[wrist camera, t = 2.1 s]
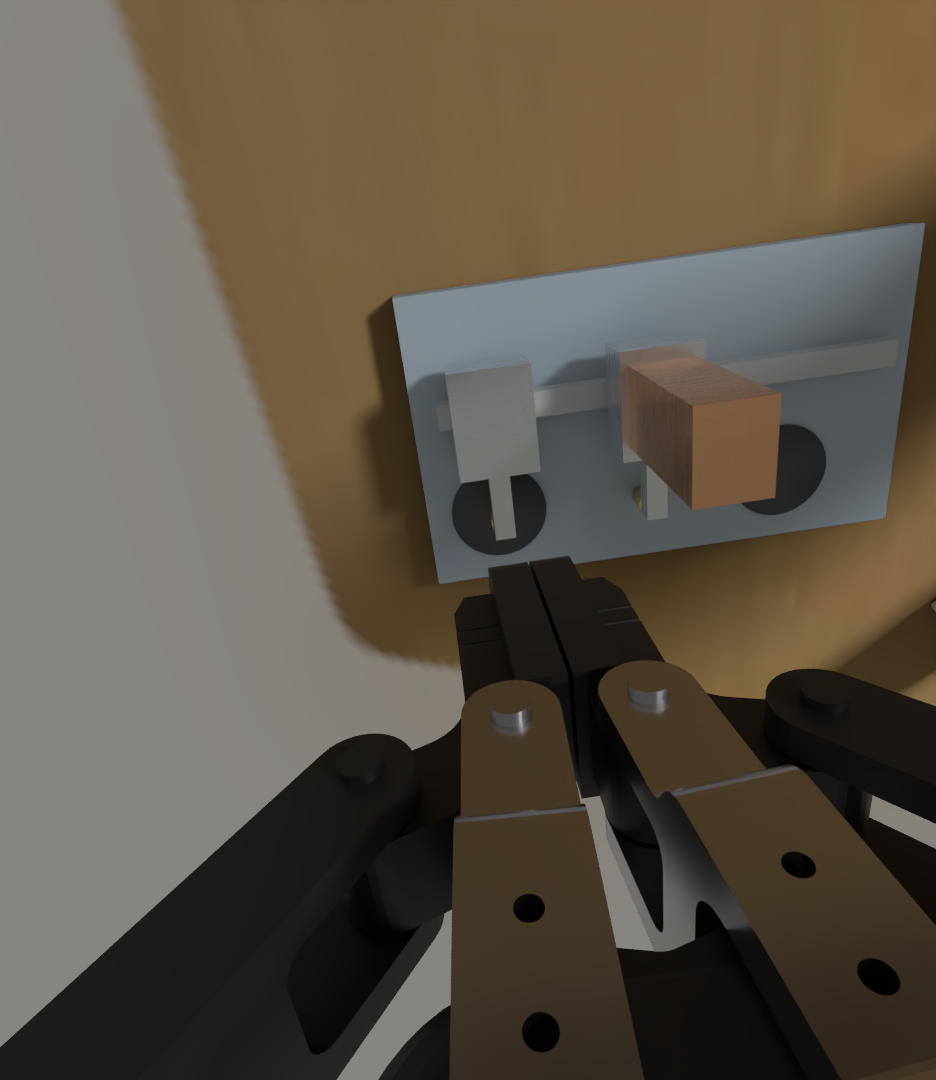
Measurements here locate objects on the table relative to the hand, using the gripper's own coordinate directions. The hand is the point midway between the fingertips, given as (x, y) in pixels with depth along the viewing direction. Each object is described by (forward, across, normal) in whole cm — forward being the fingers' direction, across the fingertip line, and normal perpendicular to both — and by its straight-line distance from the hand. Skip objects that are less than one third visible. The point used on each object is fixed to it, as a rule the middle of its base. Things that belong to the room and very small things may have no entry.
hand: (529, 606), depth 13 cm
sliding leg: (+15, -7, +2) cm, 17 cm away
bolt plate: (+17, -8, +2) cm, 19 cm away
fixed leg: (+16, -1, +2) cm, 16 cm away
